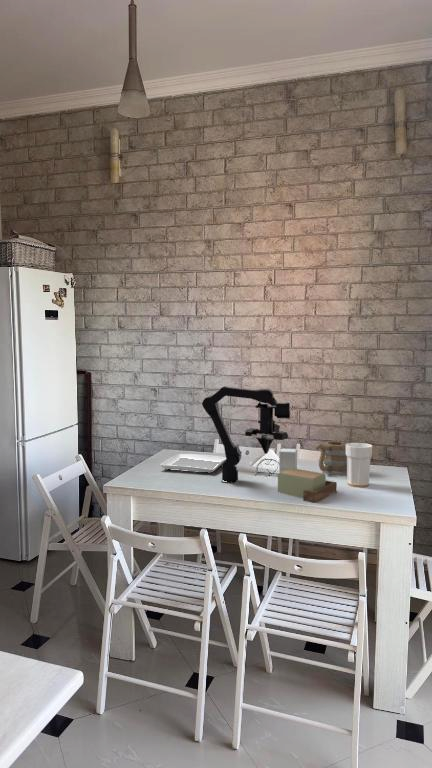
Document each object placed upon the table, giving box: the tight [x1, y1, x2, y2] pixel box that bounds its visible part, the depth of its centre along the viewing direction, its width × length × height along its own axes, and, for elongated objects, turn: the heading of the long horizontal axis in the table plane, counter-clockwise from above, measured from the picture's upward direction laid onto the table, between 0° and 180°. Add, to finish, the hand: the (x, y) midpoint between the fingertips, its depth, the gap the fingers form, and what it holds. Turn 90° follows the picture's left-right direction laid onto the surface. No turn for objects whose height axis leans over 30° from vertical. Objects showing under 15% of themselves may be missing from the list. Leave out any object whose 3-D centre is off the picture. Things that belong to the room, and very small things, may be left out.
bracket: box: [302, 480, 338, 504], centre depth 225 cm, size 5×19×4 cm, turn 144°
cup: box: [346, 442, 373, 488], centre depth 243 cm, size 11×11×17 cm
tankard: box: [314, 440, 348, 477], centre depth 263 cm, size 20×13×15 cm, turn 122°
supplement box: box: [278, 448, 298, 473], centre depth 255 cm, size 7×7×13 cm
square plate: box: [159, 453, 226, 474], centre depth 275 cm, size 27×27×4 cm
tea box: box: [277, 468, 327, 498], centre depth 230 cm, size 16×11×8 cm
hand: (265, 453), depth 245 cm, fingers closed
